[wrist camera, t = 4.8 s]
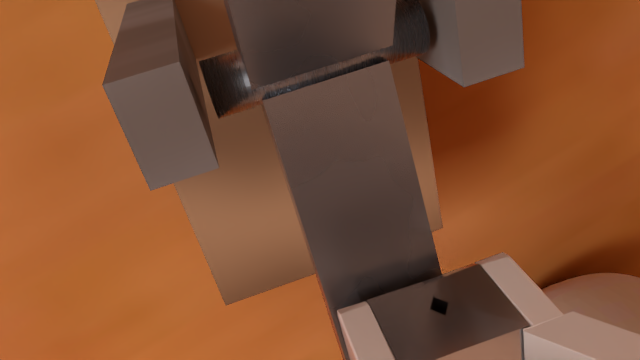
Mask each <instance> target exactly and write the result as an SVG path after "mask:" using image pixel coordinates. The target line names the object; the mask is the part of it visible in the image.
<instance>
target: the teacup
mask: <svg viewBox="0 0 640 360" xmlns="http://www.w3.org/2000/svg"><path fill="white" fill-rule="evenodd" d="M542 291H543V292H544V293H545V294H546V295H547V296H548V297H549V298H550V299H551V300H552V302H553V303H554V304H555V305H556V306H557V307H558V308H559V309H560V310H561V311H562V312H563V313H564V314H566V313H569V312H573V311H574V312H577V313H579V314H582V315H585V316H588V317H591V318H594V319H597V320H599V321H602V322H605V323H608V324H611V325H614V326H617V327H619V328H622V329H625V330H628V331H631V332H634V333H636V334H639V335H640V278H639V277H635V276H632V275H626V274H618V273H594V274H588V275H582V276H578V277H574V278H571V279H567V280H565V281H562V282H559V283H556V284H553V285H550V286H548V287H546V288H544V289H542Z"/></svg>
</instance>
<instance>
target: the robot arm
mask: <svg viewBox="0 0 640 360" xmlns="http://www.w3.org/2000/svg"><path fill="white" fill-rule="evenodd" d="M337 315H338V319H339V322H340V326H341V329H342V333H343V337H344V340H345V344H346V347H347V351H348V354H349V358H350V360H640V335H639V334H636V333H634V332H631V331H628V330H625V329H622V328H619V327H617V326H614V325H611V324H608V323H605V322H602V321H599V320H597V319H594V318H591V317H588V316H585V315H582V314H579V313H577V312H574V311H573V312H569V313H566V314H564V313H563V312H562V311H561V310H560V309H559V308H558V307H557V306H556V305H555V304H554V303H553V302H552V300H551V299H550V298H549V297H548V296H547V295H546V294H545V293H544V292H543V291H542V290H541V289H540V288H539V287H538V286H537V285H536V284H535V282H534V281H533V280H532V279H531V278H530V277H529V276H528V275H527V274H526V273H525V272H524V271H523V270H522V269H521V268H520V267H519V265H518V264H517V263H516V262H515V261H514V260H513V259H512V258H511V257H510V256H509V255H508V254H505V253H503V252H502V253H499V254H497V255H494V256H491V257H488V258H486V259H483V260H480V261H478V262H475V264H470V265H467V266H464V267H462V268H459V269H456V270H453V271H450V272H448V273H445V274H442V275H439V276H437V277H434V278H431V279H428V280H425V281H423V282H420V283H417V284H414V285H411V286H408V287H405V288H402V289H399V290H396V291H393V292H390V293H386V294H383V295H380V296H377V297H374V298H371V299H368V300H366V302H365V301H364V302H361V303H358V304H355V305H351V306H348V307H345V308H342V309H339V310H337Z"/></svg>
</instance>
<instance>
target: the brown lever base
mask: <svg viewBox="0 0 640 360" xmlns="http://www.w3.org/2000/svg"><path fill="white" fill-rule="evenodd" d="M396 1H397V0H396ZM418 1H419V3H420V4H421V6H422V8H423V10H424V13H425V15H426V19H427V22H428V27H429V33H430V45H429V49H428V51H427V52H426V53H424V54H421V55H418V56H415V57H412V58H409V59H406V60H402V61H399V62H396V63H393V64H390V66H391V71H392V75H393V79H394V83H395V87H396V91H397V95H398V99H399V103H400V107H401V111H402V115H403V119H404V123H405V127H406V132H407V136H408V140H409V144H410V148H411V152H412V156H413V160H414V164H415V168H416V172H417V176H418V180H419V184H420V188H421V192H422V197H423V201H424V205H425V209H426V213H427V217H428V221H429V225H430V229H431V232H433V231H436V230H439V229H441V228H443V225H442V219H441V212H440V205H439V198H438V192H437V185H436V178H435V171H434V165H433V158H432V151H431V144H430V137H429V131H428V124H427V117H426V110H425V104H424V97H423V90H422V83H421V77H420V70H419V63H418V58H419V59H420V60H422V61H423V62H425V63H426V64H428V65H430V66H431V67H433V68H434V69H436V70H437V71H439V72H441V73H442V74H444V75H445V76H447V77H448V78H450V79H452V80H453V81H455V82H456V83H458V84H459V85H461V86H463V87H467V86H470V85H473V84H476V83H479V82H482V81H485V80H488V79H491V78H494V77H497V76H500V75H503V74H506V73H509V72H512V71H515V70H518V69H521V68H524V47H523V26H522V5H521V0H418ZM95 2H96V4H97V6H98V9H99V11H100V13H101V16H102V18H103V20H104V23H105V25H106V27H107V30H108V32H109V34H110V37H111V39H112V41H113V44H114V48H113V51H112V55H111V58H110V61H109V65H108V68H107V71H106V75H105V78H104V81H103V84H102V85H103V88H104V90H105V92H106V94H107V96H108V99H109V101H110V103H111V105H112V107H113V110H114V112H115V114H116V116H117V118H118V121H119V123H120V125H121V127H122V129H123V131H124V134H125V136H126V138H127V140H128V142H129V145H130V147H131V149H132V151H133V153H134V156H135V158H136V160H137V162H138V164H139V166H140V169H141V171H142V173H143V175H144V177H145V180H146V182H147V184H148V186H149V188H150V191H151V190H154V189H157V188H160V187H163V186H166V185H169V184H172V183H174V186H175V188H176V190H177V193H178V195H179V197H180V200H181V202H182V204H183V207H184V209H185V211H186V214H187V216H188V218H189V221H190V223H191V225H192V228H193V230H194V232H195V235H196V237H197V239H198V242H199V244H200V246H201V249H202V251H203V253H204V256H205V258H206V260H207V263H208V265H209V267H210V270H211V272H212V274H213V277H214V279H215V281H216V284H217V286H218V288H219V291H220V293H221V295H222V298H223V300H224V302H225V305H229V304H231V303H234V302H237V301H240V300H243V299H245V298H248V297H251V296H254V295H257V294H259V293H262V292H265V291H268V290H271V289H273V288H276V287H279V286H282V285H285V284H287V283H290V282H293V281H296V280H299V279H301V278H304V277H307V276H310V275H313V274H315V271H314V268H313V264H312V261H311V258H310V255H309V252H308V249H307V246H306V243H305V240H304V237H303V233H302V230H301V227H300V224H299V221H298V218H297V215H296V212H295V209H294V205H293V202H292V199H291V196H290V193H289V190H288V187H287V184H286V181H285V178H284V174H283V171H282V168H281V165H280V162H279V159H278V156H277V153H276V150H275V146H274V143H273V140H272V137H271V134H270V131H269V128H268V125H267V122H266V119H265V115H264V112H263V109H262V106H258V107H255V108H252V109H249V110H246V111H243V112H240V113H236V114H233V115H230V116H227V117H224V118H221V119H218V116H217V114H216V111H215V109H214V106H213V103H212V100H211V98H210V95H209V92H208V89H207V86H206V83H205V80H204V77H203V74H202V71H201V68H200V64H199V61H201V60H205V59H208V58H211V57H215V56H218V55H221V54H224V53H228V52H231V51H234V50H237V47H236V43H235V40H234V36H233V32H232V29H231V25H230V22H229V18H228V15H227V11H226V8H225V4H224V0H95Z"/></svg>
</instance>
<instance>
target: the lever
mask: <svg viewBox="0 0 640 360" xmlns="http://www.w3.org/2000/svg"><path fill="white" fill-rule="evenodd" d="M224 4H225V8H226V11H227V15H228V18H229V22H230V25H231V29H232V32H233V36H234V40H235V43H236V47H237V50H234V51H231V52H228V53H224V54H221V55H218V56H215V57H211V58H208V59H205V60H201V61H199V64H200V68H201V71H202V74H203V77H204V80H205V83H206V86H207V89H208V92H209V95H210V98H211V100H212V103H213V106H214V109H215V111H216V114H217V116H218V119H221V118H224V117H227V116H230V115H233V114H236V113H240V112H243V111H246V110H249V109H252V108H255V107H258V106H262V109H263V112H264V115H265V119H266V122H267V125H268V128H269V131H270V134H271V137H272V140H273V143H274V146H275V150H276V153H277V156H278V159H279V162H280V165H281V168H282V171H283V174H284V178H285V181H286V184H287V187H288V190H289V193H290V196H291V199H292V202H293V205H294V209H295V212H296V215H297V218H298V221H299V224H300V227H301V230H302V233H303V237H304V240H305V243H306V246H307V249H308V252H309V255H310V258H311V261H312V264H313V268H314V271H315V274H316V277H317V280H318V283H319V286H320V289H321V292H322V295H323V299H324V302H325V305H326V308H327V311H328V314H329V317H330V320H331V323H332V327H333V330H334V333H335V336H336V339H337V342H338V345H339V348H340V351H341V354H342V358H343V360H350V358H349V354H348V351H347V347H346V344H345V340H344V337H343V333H342V329H341V326H340V322H339V319H338V315H337V310H339V309H342V308H345V307H348V306H351V305H355V304H358V303H361V302H364V301H365V302H366V300H368V299H371V298H374V297H377V296H380V295H383V294H386V293H390V292H393V291H396V290H399V289H402V288H405V287H408V286H411V285H414V284H417V283H420V282H423V281H425V280H428V279H431V278H434V277H437V276H439V275H442V274H441V270H440V266H439V262H438V258H437V253H436V249H435V245H434V241H433V237H432V233H431V229H430V225H429V221H428V217H427V213H426V209H425V205H424V201H423V197H422V192H421V188H420V184H419V180H418V176H417V172H416V168H415V164H414V160H413V156H412V152H411V148H410V144H409V140H408V136H407V132H406V127H405V123H404V119H403V115H402V111H401V107H400V103H399V99H398V95H397V91H396V87H395V83H394V79H393V75H392V71H391V66H390V64H393V63H396V62H399V61H402V60H406V59H409V58H412V57H415V56H418V55H421V54H424V53H426V52H427V51H428V49H429V45H430V33H429V27H428V22H427V19H426V15H425V13H424V10H423V8H422V6H421V4H420V3H419V1H418V0H397V1H396V0H224Z"/></svg>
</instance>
